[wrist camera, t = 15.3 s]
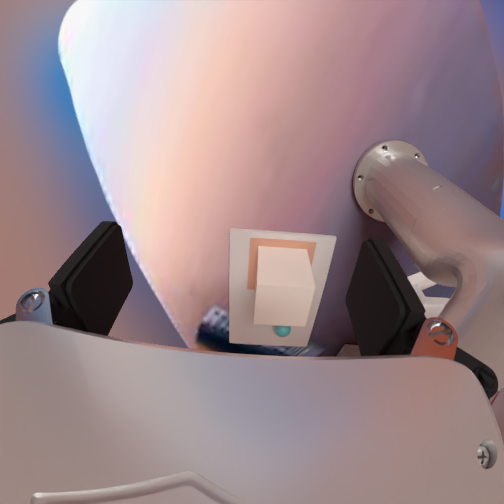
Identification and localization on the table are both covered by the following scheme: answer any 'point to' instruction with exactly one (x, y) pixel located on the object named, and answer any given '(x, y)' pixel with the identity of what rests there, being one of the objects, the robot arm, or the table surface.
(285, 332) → the marble
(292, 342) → the mat
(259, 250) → the cream rectangular block
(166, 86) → the table surface
